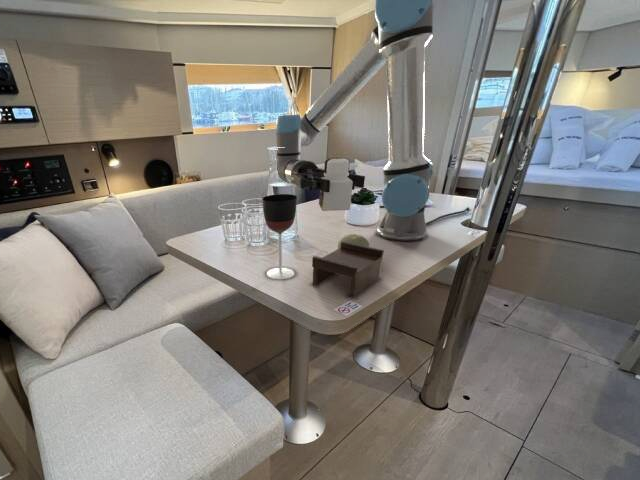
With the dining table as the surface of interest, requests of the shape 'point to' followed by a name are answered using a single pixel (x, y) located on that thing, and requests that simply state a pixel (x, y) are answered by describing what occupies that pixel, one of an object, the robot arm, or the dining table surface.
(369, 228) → the dining table surface
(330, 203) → the medicine bottle
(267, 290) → the dining table surface
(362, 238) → the sea urchin shell
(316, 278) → the stand
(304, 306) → the dining table surface
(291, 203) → the wineglass
